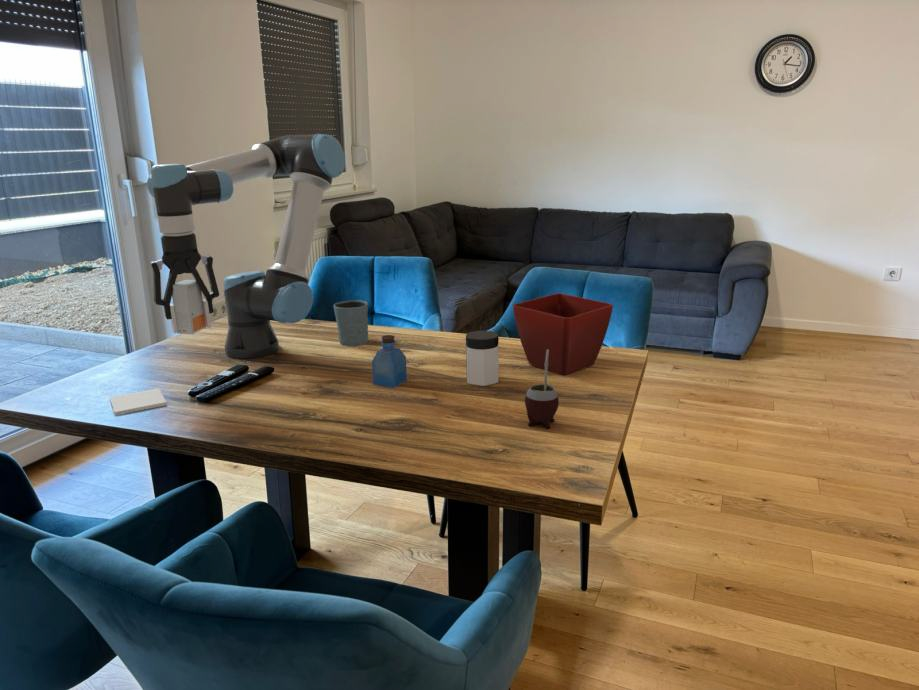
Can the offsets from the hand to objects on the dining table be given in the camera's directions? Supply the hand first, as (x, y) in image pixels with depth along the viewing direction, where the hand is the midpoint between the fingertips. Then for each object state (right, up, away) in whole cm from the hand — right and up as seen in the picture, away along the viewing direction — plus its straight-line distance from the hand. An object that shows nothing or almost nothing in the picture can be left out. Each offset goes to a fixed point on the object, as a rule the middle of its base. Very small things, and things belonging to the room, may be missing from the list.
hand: (191, 328), depth 161 cm
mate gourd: (+82, -21, -17) cm, 86 cm away
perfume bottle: (+47, -13, +8) cm, 50 cm away
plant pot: (+92, -9, +19) cm, 94 cm away
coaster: (-12, -18, -3) cm, 21 cm away
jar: (+70, -13, +8) cm, 72 cm away
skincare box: (0, -1, 0) cm, 1 cm away
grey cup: (+32, -3, +42) cm, 53 cm away
